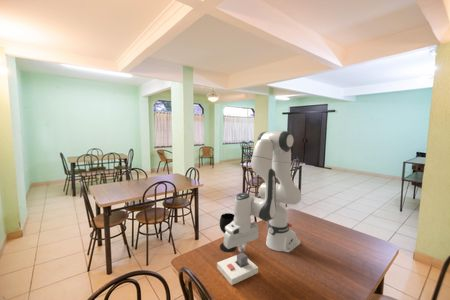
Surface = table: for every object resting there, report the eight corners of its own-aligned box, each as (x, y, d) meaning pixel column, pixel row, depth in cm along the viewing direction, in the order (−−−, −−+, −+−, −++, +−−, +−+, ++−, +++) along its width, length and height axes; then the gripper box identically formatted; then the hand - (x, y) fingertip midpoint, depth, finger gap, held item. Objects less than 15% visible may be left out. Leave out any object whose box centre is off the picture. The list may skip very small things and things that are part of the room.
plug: (242, 264, 111) (242, 252, 111) (247, 268, 108) (247, 256, 107) (236, 267, 109) (236, 254, 108) (241, 271, 106) (241, 258, 105)
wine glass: (217, 244, 131) (217, 214, 128) (232, 241, 134) (232, 211, 132) (223, 253, 121) (223, 221, 119) (239, 250, 125) (239, 218, 122)
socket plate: (241, 257, 117) (241, 251, 117) (257, 272, 105) (258, 265, 105) (217, 267, 109) (217, 261, 109) (231, 285, 97) (231, 277, 97)
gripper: (254, 218, 114) (253, 242, 115) (222, 227, 103) (221, 253, 105) (261, 223, 109) (261, 248, 110) (228, 233, 98) (228, 260, 99)
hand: (241, 250), depth 107 cm, fingers closed
